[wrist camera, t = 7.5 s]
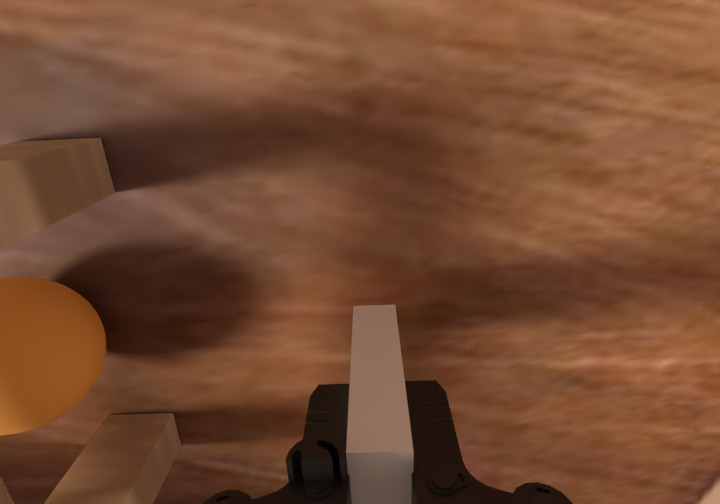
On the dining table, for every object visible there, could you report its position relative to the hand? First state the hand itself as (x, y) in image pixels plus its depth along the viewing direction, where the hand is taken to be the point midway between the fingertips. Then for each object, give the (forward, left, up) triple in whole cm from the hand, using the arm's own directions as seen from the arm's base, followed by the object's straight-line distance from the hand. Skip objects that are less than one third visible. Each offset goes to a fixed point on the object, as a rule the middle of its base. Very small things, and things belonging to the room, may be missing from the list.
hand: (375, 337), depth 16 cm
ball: (0, +13, 0) cm, 13 cm away
